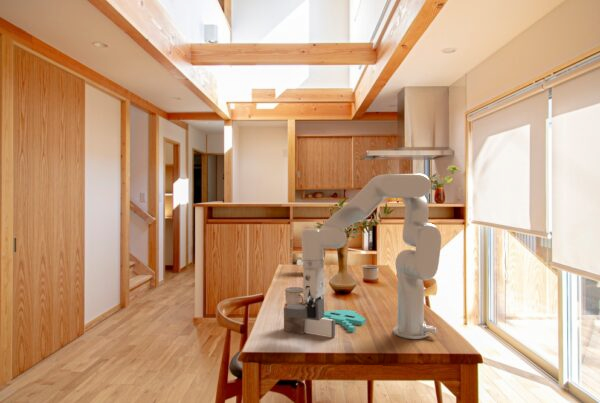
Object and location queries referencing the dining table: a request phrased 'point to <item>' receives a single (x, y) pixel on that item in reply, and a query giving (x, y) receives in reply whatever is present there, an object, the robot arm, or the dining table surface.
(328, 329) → the gate
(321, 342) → the dining table surface
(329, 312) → the alien figure
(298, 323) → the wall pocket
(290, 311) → the grey stepped block
